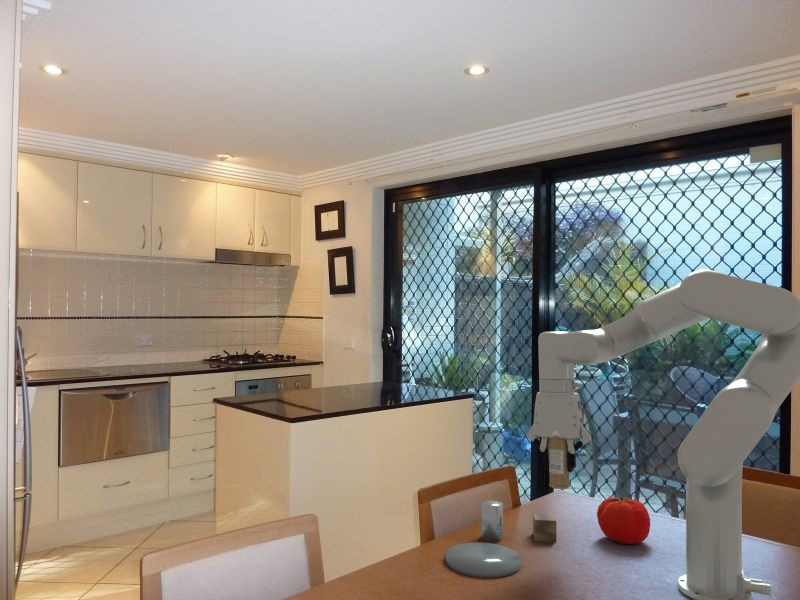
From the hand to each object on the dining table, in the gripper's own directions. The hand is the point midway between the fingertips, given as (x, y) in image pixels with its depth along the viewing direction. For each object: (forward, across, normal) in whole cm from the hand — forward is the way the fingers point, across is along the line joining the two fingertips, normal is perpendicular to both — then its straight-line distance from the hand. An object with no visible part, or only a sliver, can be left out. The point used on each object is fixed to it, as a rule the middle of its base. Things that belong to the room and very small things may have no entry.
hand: (559, 469), depth 135 cm
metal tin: (+19, +17, -4) cm, 26 cm away
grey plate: (+19, +14, +11) cm, 26 cm away
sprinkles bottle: (+4, 0, 0) cm, 4 cm away
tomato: (+20, -11, -17) cm, 28 cm away
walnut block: (+19, +6, -10) cm, 22 cm away
